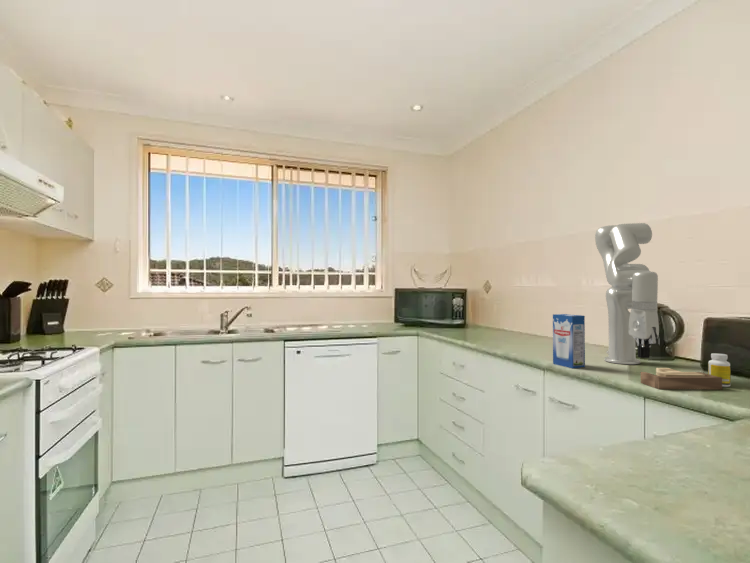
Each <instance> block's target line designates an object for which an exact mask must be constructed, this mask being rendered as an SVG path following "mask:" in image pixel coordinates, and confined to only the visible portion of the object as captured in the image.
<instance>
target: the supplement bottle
mask: <svg viewBox="0 0 750 563" xmlns="http://www.w3.org/2000/svg"><path fill="white" fill-rule="evenodd" d="M710 358H711V359H710V360H708V362H707V371H708V372H707V374H709V375H713V376H717V377H721V378H722V388H729V387H731V362H729V361H727V360H728V359H729V358H728V354H725V353H716V352H715V353H714V352H713V353H711V354H710Z"/></svg>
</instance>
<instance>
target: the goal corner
mask: <svg viewBox="0 0 750 563" xmlns="http://www.w3.org/2000/svg"><path fill="white" fill-rule="evenodd" d="M695 372H696V373H700V374H703V375H705V377H663V376H657V375H656V374H654V373H650V372H646V371H641V372H640V384H643V385H646V386H649V387H652V388H653V389H657V390H723V387H722V378H721V377H717V376H713V375H709V374H708V373H706V372H705V373H704V372H702V371H701V372H700V371H695Z"/></svg>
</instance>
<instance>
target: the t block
mask: <svg viewBox="0 0 750 563" xmlns="http://www.w3.org/2000/svg"><path fill="white" fill-rule="evenodd" d="M696 372H697V371H680V370H677V369H672V368H669V367H656V368H655V375H657V376H663V377H705V375H703V374H700V373H696Z"/></svg>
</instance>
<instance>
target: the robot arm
mask: <svg viewBox="0 0 750 563" xmlns="http://www.w3.org/2000/svg"><path fill="white" fill-rule="evenodd" d="M594 235H595V236H594V241H595V245H596V249H597V251H598V253H599V254H600V256H601V258H602V262H603V267H604V274H605V278H606V282H607V283H608V284H609V285H610V286H611V287H609V288H607V290H606V292H605V301H606V307H607V312H608V313H607V316H608V317H607V318H608V349H607V350H606V354H608V356H605V357H604V361H605V362H607V363H613V364H617V365H618V364H621V365H640V364H641V360H640V359H649V358H650V357H651V356H650V353H651V347H652V344H653V345H654V344H657V340H658V339H659V335H660V334H659V333H660V326H659V325H660V324H659V315H658V293H659V292H658V290H659V287H658V285H659V278H658V277H659V275H658V273H657V272H655V271H650V268H648V267H647V265H645V264H643V263H642V264H641V263H631V262H633V261H635V260H637V259H638V258H639V257H640V256H641V254H642V250H641V246H640V245H646V244H648V243H650V242H651V241H652V237H653V230H652V227H651V226H650V225H649V224H647V223H645V222H641V223H640V222H639V223H638V222H636V223H635V222H634V223H620V224H615V225H613V224H612V225H605V226H601V227H599V228H598V229H596V231H595V234H594ZM629 310H630V311H629ZM636 345H637V346H636ZM636 347H637V352H636ZM636 354H637V355H636ZM636 356H637V357H638V358H640V359H638V358H636Z"/></svg>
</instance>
